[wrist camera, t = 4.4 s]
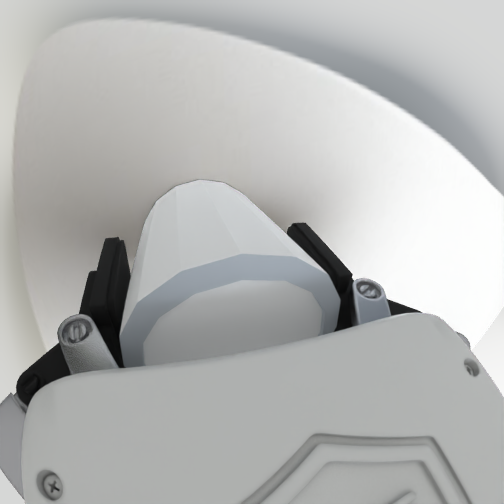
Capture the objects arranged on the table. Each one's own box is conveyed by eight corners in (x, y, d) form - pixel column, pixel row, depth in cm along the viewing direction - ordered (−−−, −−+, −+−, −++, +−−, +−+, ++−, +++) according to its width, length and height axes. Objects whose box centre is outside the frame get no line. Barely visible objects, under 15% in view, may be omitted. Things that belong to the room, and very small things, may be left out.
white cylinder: (143, 296, 14) (150, 414, 9) (121, 174, 10) (83, 275, 5) (262, 280, 16) (315, 380, 11) (274, 163, 12) (370, 241, 7)
